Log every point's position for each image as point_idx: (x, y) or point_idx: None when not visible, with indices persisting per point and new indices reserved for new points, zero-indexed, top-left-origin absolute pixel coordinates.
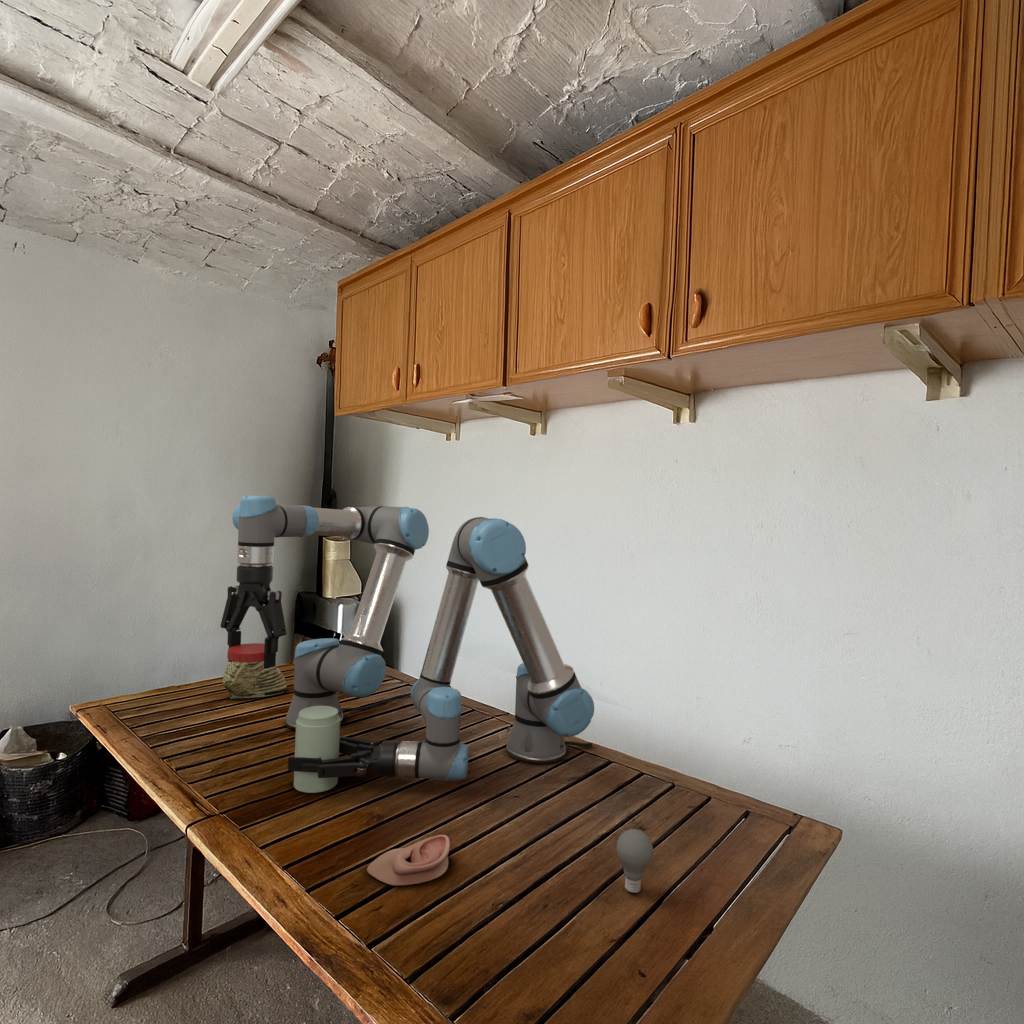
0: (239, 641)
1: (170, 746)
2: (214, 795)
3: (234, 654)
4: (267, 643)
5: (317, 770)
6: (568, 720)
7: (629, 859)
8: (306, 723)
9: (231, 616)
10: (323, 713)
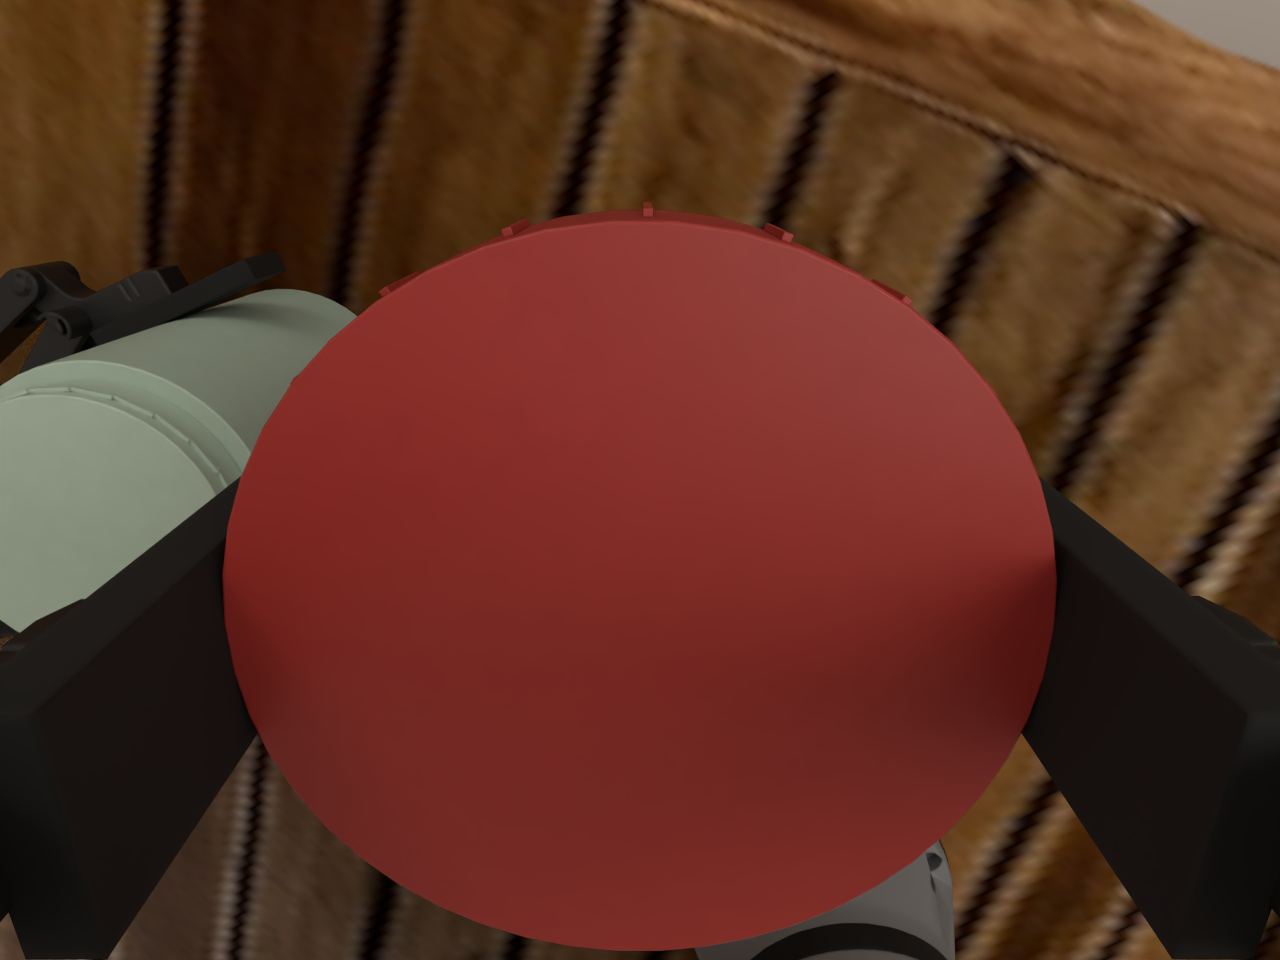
0: (1060, 755)
1: (1266, 356)
2: (603, 37)
3: (631, 217)
4: (19, 659)
5: (90, 293)
6: None
7: None
8: (66, 382)
9: None
10: (22, 525)
